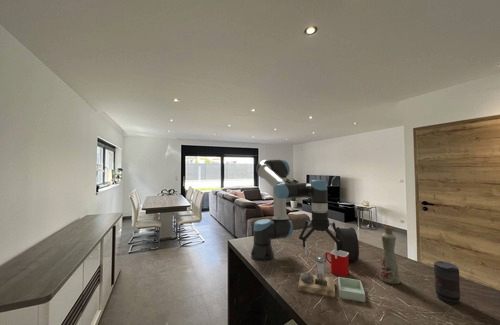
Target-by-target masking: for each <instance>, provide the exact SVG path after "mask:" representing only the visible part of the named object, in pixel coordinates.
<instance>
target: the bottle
mask: <svg viewBox="0 0 500 325" xmlns="http://www.w3.org/2000/svg"><path fill="white" fill-rule="evenodd" d="M380 236H381V241H382V247H383V249H382V253H381V254H382V256H381V263H380V268H379V273H378V277H379V279H380V280H381V281H382V282H384V283H385V284H388V285H397V284H400V283H401V277H400V272H399V269H398V268H399V267H398V263H397V258H396V254H395V245H396V239H397V237H396V236H395V235H394V233H393V227H392V226H391V225H384V232H383V233H382V234H381V235H380Z"/></svg>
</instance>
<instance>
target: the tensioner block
mask: <svg viewBox="0 0 500 325" xmlns="http://www.w3.org/2000/svg"><path fill="white" fill-rule="evenodd" d="M335 287H336V286H335V278H334V277H327V276H325V286H323V285H317V274H310V273H303V272H301V273H300V277H299V279H298V291H301V292H305V293H312V294H317V295H323V296H327V297H332V298H333V297H334V298H336V289H335Z"/></svg>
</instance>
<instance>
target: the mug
mask: <svg viewBox="0 0 500 325" xmlns="http://www.w3.org/2000/svg"><path fill="white" fill-rule="evenodd" d="M328 255H330V260H329V258H328ZM348 255H349V253H348V252H345V251H341V250H339V251H337V259H336V258H335V249H333V250H332V251H330V252H328V251H327V252H325V258H326V262H328V263H329V264H330V272H331V274H333V275H336V276H338V277H342V278H346V277H347V275H348V274H349V273H350V267H349V263H350V261H349V258H348Z"/></svg>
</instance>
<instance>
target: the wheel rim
mask: <svg viewBox="0 0 500 325" xmlns="http://www.w3.org/2000/svg"><path fill="white" fill-rule="evenodd" d="M336 228H337V230H338V232H339V234H340V236H341V238H342V240H343V243H340V244H339V250H341V251H345V252H348V253H349V255H348V258H349V260H351V261H353V262H358V261H359V257H360V246H359V245H360V243H359V237H358V234H357V231H356V229H355V228H354V227H351V226H350V227H349V228H344V227H343V228H341V227H338V226H336ZM335 237H336V238H337V240H339V238H338V237H337V235H336V234H335Z"/></svg>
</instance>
